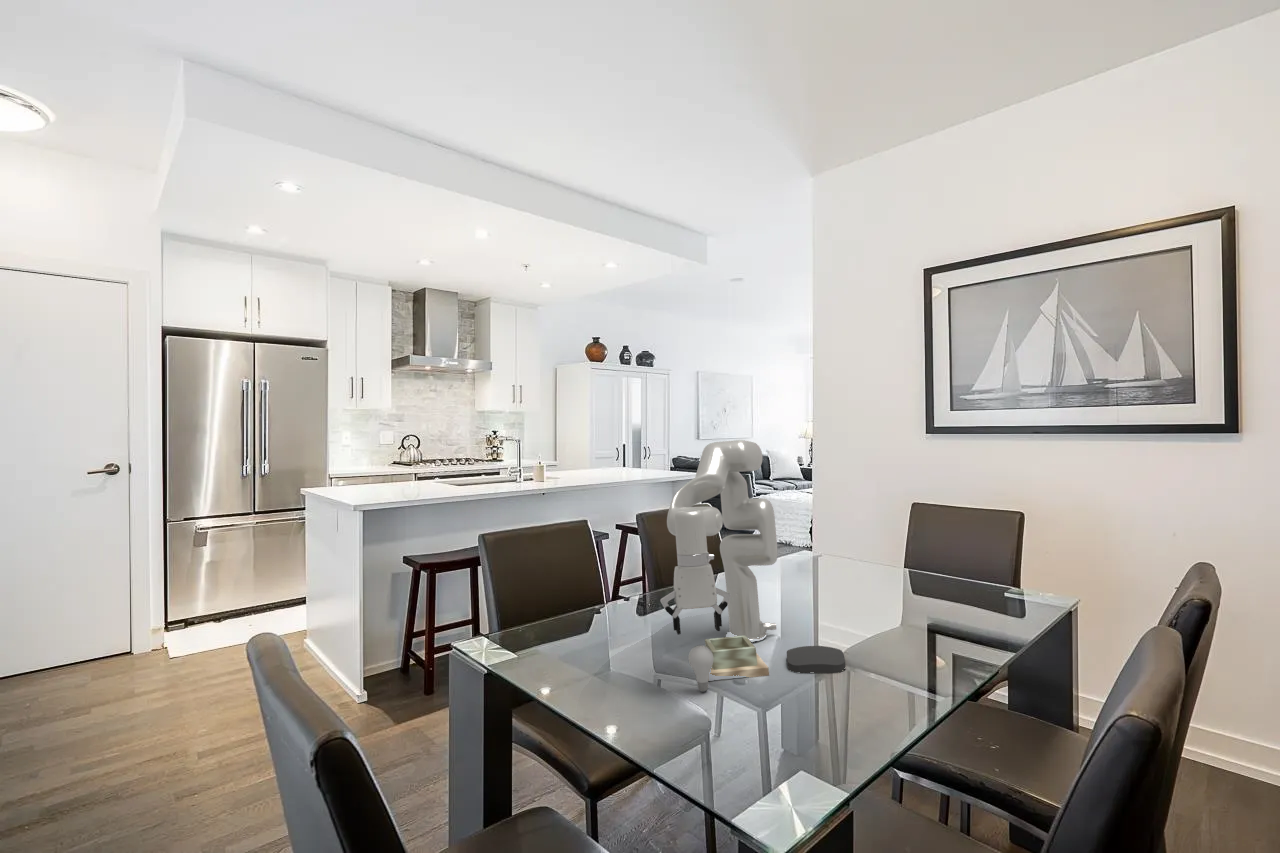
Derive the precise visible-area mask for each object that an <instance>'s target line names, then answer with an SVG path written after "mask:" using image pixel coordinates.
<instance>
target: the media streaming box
mask: <svg viewBox="0 0 1280 853" xmlns="http://www.w3.org/2000/svg"><path fill="white" fill-rule="evenodd" d="M845 657H846V656H845V654H844V652H843V651H842V649H840V648H836V647H831V646H823V645H804V646H798V647H797V646H796V647H793V648H790V649H788V650H786V660H787V661H786V662H787V668H788V670H789V671H790V670H791V672H792V671H794V672H793V673H795V672H800V673H799V674H811V673H810V672H814V673H813V674H837V673H838V672H839V673H842V672H843V671H842V670H843V669H844V668H845V667H846V665H847V664H846V658H845ZM846 668H847V667H846ZM841 671H842V672H841Z"/></svg>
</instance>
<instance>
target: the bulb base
mask: <svg viewBox="0 0 1280 853" xmlns="http://www.w3.org/2000/svg"><path fill="white" fill-rule="evenodd" d="M704 643H705V645H704V646H706V647H707V648H709V649H710V650H711V652H712V654H713V658H714V660H713V664H712V668H711V673H710V674H712V675H715V676H733V675H734V676H736V675H737V676H738V675H739V676H746V677H749V678H758V677H759V678H760V677H767V676H770V670H769V669H770V668H769V666H768V665H767V664H766V663H765V661H764V660H763V658H761V656H760V655H759V654H758V653H757V647H756V646H755V645H754V643H751V641H750V640H749V639H748V638H747V637H746V636H745V635H744V636H734V637H715V638H714V637H713V638H706V639H704Z"/></svg>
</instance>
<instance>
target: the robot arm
mask: <svg viewBox="0 0 1280 853" xmlns="http://www.w3.org/2000/svg"><path fill="white" fill-rule="evenodd" d="M762 452H763V451H762V449H761V448H760V445H758V443H757V442H754V441H749V440H743V439H738V440H737V439H736V440H735V439H734V440H724V441H714V442H711V443H709V444H706V445H705V447H704V448H703V450H702V453H701V455H700V459H699V464H698V467H697V470H696V474H695V477H693V478H692V479H690V480H689V481H687V483H685V484H684V485H683V486H682V487H681V488H679V490H677V491H676V493H674V495H673V497H672V499H671V502H670V505H669V509H668V512H667V516H666V527H667V530H668V532H669V533H670V534H671V535H673V536H675V545H676V558H677V566H676V565H675V566H674V571H673V591H671V592H670V593H668V594H666V595H665V596H663V597H662V598H660V603H661V605H662V607H663V608H664V610H665V611H666V612H667V614H669V615H670V616H671V618H672V621H673V622H672V624H673V625H672V626H673V631H675V632H676V634H677V635H681V633H682V632H681V618H680V616H679V615H680V613H681V612H682V610H692V609H694V610H695V609H706V608H711V607H712V609H713V610H714V612H713V620H714V621H713V622H714V629H715V630H716V631H717V632H720V631H721V627H723V624H722V623H723V622H722V614H723V612H724V610H725V609H726V608H727V613H728V623H729V624H728V626H729V631H730V632H731V633H732V634H734V635H737V636H744V635H745V636H746V637H747V638H749V640H753V639H760V638H762V637H764V636H765V635H767V631H769V630H770V631H774V630H775V631H776V630H777V624H776V622H773V623H771V622H768V621H767V622H763V621H761V615H760V614H761V613H760V604H759V591H758V583H757V578H756V575H755V574H754V572H753V571H752V570H751V569H750V567H751V566H755V567H756V566H757V567H758V566H760V567H761V566H764V567H765V566H772V565H775V563H776V562H777V560H778V541H777V540H778V538H777V532H776V531H777V527H776V517H775V510H774V506H773V504H772V502H771V501H770V500H769V499H767V498H762V497H761V498H759V497H757V498H750V497H749V491H748V483H747V480H746V479H745V477H744V476H743V475H742V474H741V473H740V472H742V473H743V472H755V471H757V470H759V469H760V468H761V466H762V463H763V453H762ZM718 495H720V502H721V503H720V505H721V511H720V510H719V509H718V508H717V507H714V506H707V505H706V506H695V505H697V504H699V503H702V502H705V501H708V500H710V499H712V498H715V497H716V496H718ZM723 525H724V528H726V529H728V530H732V531H750V530H751V531H758V532H759V533H750V534H749V533H740V534H738V533H736V534H729V535H726V536H724V537H723V538H722V539H721V541H720V544H719V552H720V558H721V560H722V565H723V572H724V578H725V588H726V591H724V590H723V589H720V588H717V587H716V580H715V576H714V575H715V574H714V572H713V571H714V570H713V567H712V564H711V563H710V561H712V560H713V561H714V560H715V555H714V554H711V553H709V552H708V543H707V542H708V541H707V539H708V538H707V537H712V536H713V537H714V536H715V535H717V534H719V533H720V531H721V530H722V528H723ZM717 595H718V596H720V597H723V598H722V601H721V602H720V603H719V605H718V604H717V603H718V596H717ZM671 600H674V604H675V606H674V607H673V608H672V607H671V606H670V604H668V603H669V601H671ZM757 637H759V638H757Z"/></svg>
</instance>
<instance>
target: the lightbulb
mask: <svg viewBox="0 0 1280 853" xmlns="http://www.w3.org/2000/svg"><path fill="white" fill-rule="evenodd" d="M687 658H688V664H689V665H690V667H691V669H692V671H693V672H694V676H695V680H696V684H697V689H698V690H699V691H701V692H703V691H705V692H706V691H708V689H709V688H710V687H709V682H708V681H709V672H710V669H711V667H712V664H713V660H714V658H713V654H712V652H711V650H710V649H709V648H707V647H706V646H705V645H704V644H703V645H700V644H699V645H696V646H694V647H693V648H691V650H690V651H689V652H688V656H687ZM703 693H704V692H703Z"/></svg>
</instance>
